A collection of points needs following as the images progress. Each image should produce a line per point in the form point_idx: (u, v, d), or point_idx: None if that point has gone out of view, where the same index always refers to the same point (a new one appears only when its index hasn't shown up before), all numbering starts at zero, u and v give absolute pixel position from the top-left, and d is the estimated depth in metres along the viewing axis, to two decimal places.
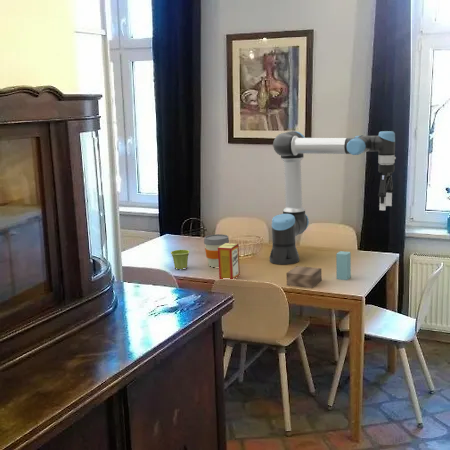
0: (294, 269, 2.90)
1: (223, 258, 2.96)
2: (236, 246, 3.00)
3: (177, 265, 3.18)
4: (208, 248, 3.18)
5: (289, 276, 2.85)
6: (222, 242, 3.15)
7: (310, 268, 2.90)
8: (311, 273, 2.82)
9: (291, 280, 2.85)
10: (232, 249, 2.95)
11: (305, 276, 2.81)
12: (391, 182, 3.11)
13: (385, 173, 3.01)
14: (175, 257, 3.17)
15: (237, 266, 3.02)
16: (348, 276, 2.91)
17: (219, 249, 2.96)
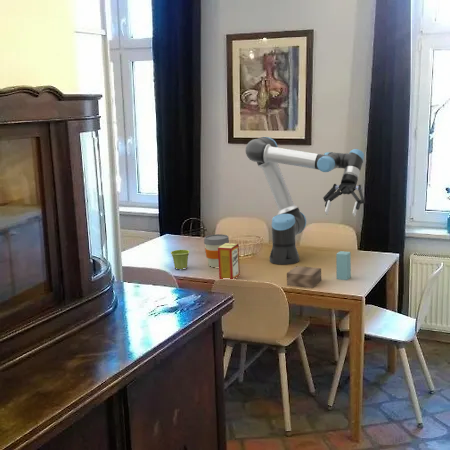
0: (294, 269, 2.90)
1: (223, 258, 2.96)
2: (236, 246, 3.00)
3: (177, 265, 3.18)
4: (208, 248, 3.18)
5: (290, 276, 2.85)
6: (222, 242, 3.15)
7: (310, 268, 2.90)
8: (311, 273, 2.83)
9: (291, 280, 2.85)
10: (232, 249, 2.95)
11: (306, 276, 2.81)
12: (332, 194, 3.09)
13: None
14: (175, 257, 3.17)
15: (237, 266, 3.02)
16: (348, 276, 2.91)
17: (219, 249, 2.96)
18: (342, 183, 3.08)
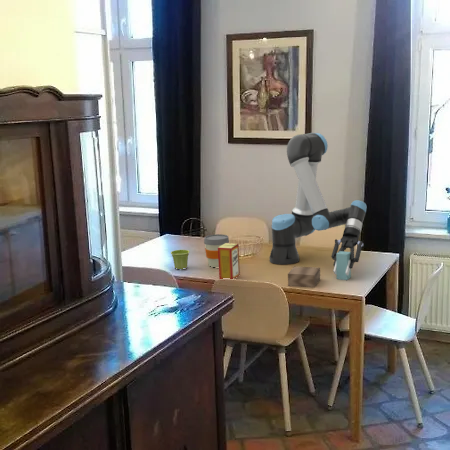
0: (293, 269, 2.89)
1: (223, 258, 2.96)
2: (236, 246, 3.00)
3: (177, 265, 3.18)
4: (208, 248, 3.18)
5: (291, 277, 2.84)
6: (222, 242, 3.15)
7: (309, 268, 2.91)
8: (313, 273, 2.83)
9: (293, 281, 2.84)
10: (232, 249, 2.95)
11: (308, 275, 2.81)
12: (337, 250, 2.98)
13: None
14: (175, 257, 3.17)
15: (237, 266, 3.02)
16: (348, 276, 2.91)
17: (219, 249, 2.96)
18: (343, 236, 2.98)
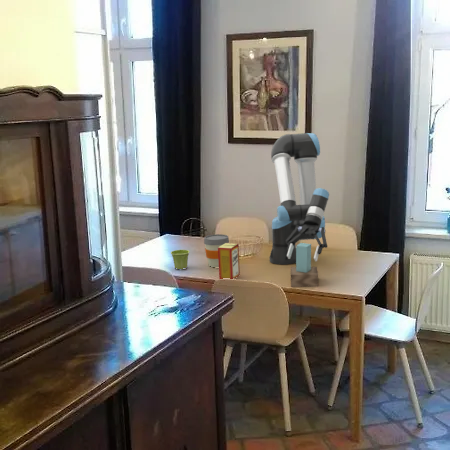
0: (293, 270, 2.88)
1: (223, 258, 2.96)
2: (236, 246, 3.00)
3: (177, 265, 3.18)
4: (208, 248, 3.18)
5: (294, 278, 2.82)
6: (222, 242, 3.15)
7: None
8: (314, 272, 2.84)
9: (296, 281, 2.83)
10: (232, 249, 2.95)
11: (311, 275, 2.81)
12: (295, 236, 2.93)
13: (319, 227, 2.90)
14: (175, 257, 3.17)
15: (237, 266, 3.02)
16: (308, 268, 2.85)
17: (219, 249, 2.96)
18: (305, 224, 2.92)
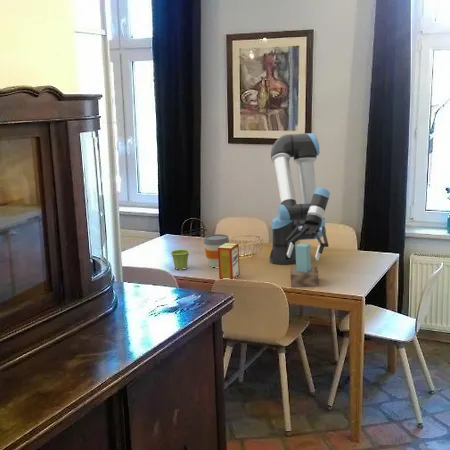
0: (293, 270, 2.88)
1: (223, 258, 2.96)
2: (236, 246, 3.00)
3: (177, 265, 3.18)
4: (208, 248, 3.18)
5: (294, 278, 2.82)
6: (222, 242, 3.15)
7: None
8: (315, 272, 2.84)
9: (296, 281, 2.83)
10: (232, 249, 2.95)
11: (312, 275, 2.81)
12: (295, 235, 2.94)
13: (319, 226, 2.90)
14: (175, 257, 3.17)
15: (237, 266, 3.02)
16: (308, 268, 2.85)
17: (219, 249, 2.96)
18: (305, 224, 2.92)
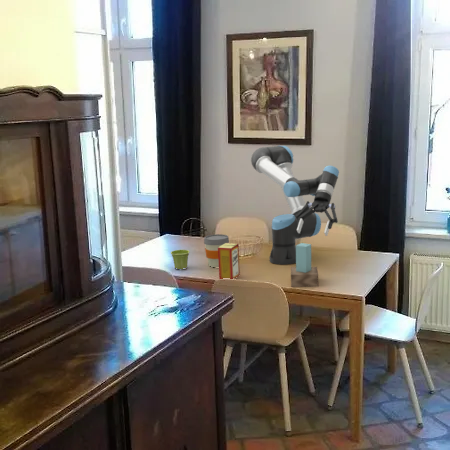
0: (293, 270, 2.88)
1: (223, 258, 2.96)
2: (236, 246, 3.00)
3: (177, 265, 3.18)
4: (208, 248, 3.18)
5: (294, 278, 2.82)
6: (222, 242, 3.15)
7: None
8: (315, 272, 2.84)
9: (296, 281, 2.83)
10: (232, 249, 2.95)
11: (312, 275, 2.81)
12: (305, 212, 3.02)
13: (329, 203, 2.98)
14: (175, 257, 3.17)
15: (237, 266, 3.02)
16: (307, 269, 2.85)
17: (219, 249, 2.96)
18: (315, 201, 3.00)
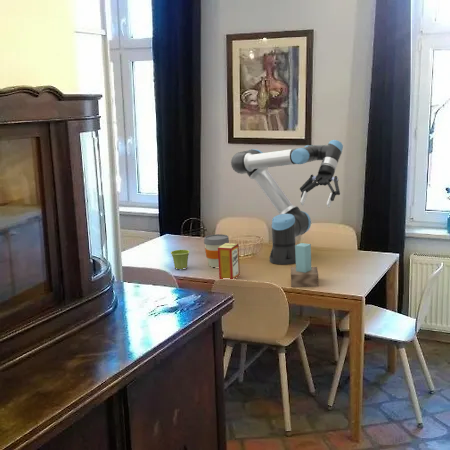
0: (293, 270, 2.88)
1: (223, 258, 2.96)
2: (236, 246, 3.00)
3: (177, 265, 3.18)
4: (208, 248, 3.18)
5: (294, 278, 2.82)
6: (222, 242, 3.15)
7: None
8: (315, 272, 2.84)
9: (296, 281, 2.83)
10: (232, 249, 2.95)
11: (312, 275, 2.81)
12: (309, 185, 3.10)
13: (332, 176, 3.06)
14: (175, 257, 3.17)
15: (237, 266, 3.02)
16: (307, 269, 2.85)
17: (219, 249, 2.96)
18: (319, 174, 3.08)
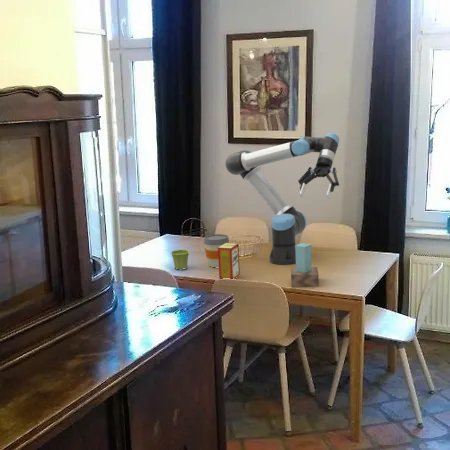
0: (293, 270, 2.88)
1: (223, 258, 2.96)
2: (236, 246, 3.00)
3: (177, 265, 3.18)
4: (208, 248, 3.18)
5: (294, 278, 2.82)
6: (222, 242, 3.15)
7: None
8: (315, 272, 2.84)
9: (296, 281, 2.83)
10: (232, 249, 2.95)
11: (312, 275, 2.81)
12: None
13: (330, 168, 3.09)
14: (175, 257, 3.17)
15: (237, 266, 3.02)
16: (307, 269, 2.85)
17: (219, 249, 2.96)
18: (317, 166, 3.11)
